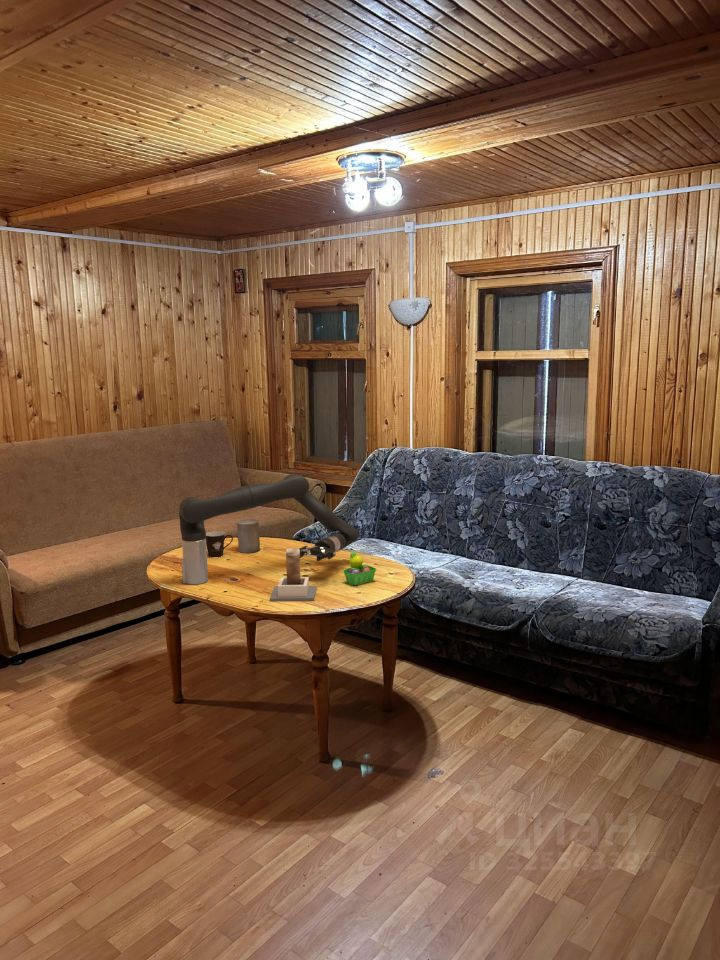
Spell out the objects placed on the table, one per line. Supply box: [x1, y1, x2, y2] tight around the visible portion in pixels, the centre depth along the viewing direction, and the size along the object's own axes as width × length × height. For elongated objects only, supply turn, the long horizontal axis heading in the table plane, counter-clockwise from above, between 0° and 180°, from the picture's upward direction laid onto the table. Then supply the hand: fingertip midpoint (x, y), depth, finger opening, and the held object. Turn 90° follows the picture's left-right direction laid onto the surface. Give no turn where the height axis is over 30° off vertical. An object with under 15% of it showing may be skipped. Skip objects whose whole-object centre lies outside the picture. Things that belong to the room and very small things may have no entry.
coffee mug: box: [206, 531, 234, 558], centre depth 322 cm, size 12×9×10 cm
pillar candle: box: [236, 518, 261, 554], centre depth 329 cm, size 10×10×15 cm
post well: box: [269, 576, 318, 602], centre depth 270 cm, size 16×14×5 cm
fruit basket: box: [342, 551, 377, 586], centre depth 284 cm, size 11×9×11 cm
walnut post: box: [285, 547, 301, 585], centre depth 269 cm, size 5×5×16 cm
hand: (307, 557), depth 278 cm, fingers open, 8 cm apart
